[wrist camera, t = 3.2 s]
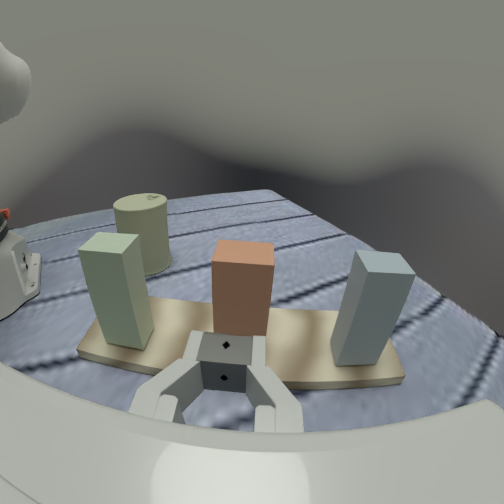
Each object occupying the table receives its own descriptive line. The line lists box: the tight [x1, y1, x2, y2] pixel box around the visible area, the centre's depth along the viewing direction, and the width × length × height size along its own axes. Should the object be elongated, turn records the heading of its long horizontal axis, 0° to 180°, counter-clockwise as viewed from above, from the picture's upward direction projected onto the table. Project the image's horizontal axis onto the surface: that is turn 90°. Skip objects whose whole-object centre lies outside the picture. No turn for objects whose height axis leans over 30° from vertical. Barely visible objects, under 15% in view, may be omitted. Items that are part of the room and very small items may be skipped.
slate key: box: [330, 250, 416, 366], centre depth 27 cm, size 5×4×12 cm
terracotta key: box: [212, 240, 275, 343], centre depth 27 cm, size 5×4×12 cm
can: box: [113, 193, 171, 276], centre depth 45 cm, size 9×9×12 cm
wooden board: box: [76, 296, 405, 390], centre depth 32 cm, size 38×12×2 cm, turn 88°
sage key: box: [78, 232, 154, 350], centre depth 27 cm, size 5×4×12 cm
